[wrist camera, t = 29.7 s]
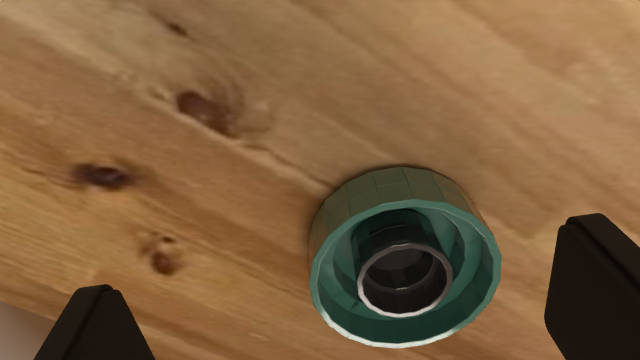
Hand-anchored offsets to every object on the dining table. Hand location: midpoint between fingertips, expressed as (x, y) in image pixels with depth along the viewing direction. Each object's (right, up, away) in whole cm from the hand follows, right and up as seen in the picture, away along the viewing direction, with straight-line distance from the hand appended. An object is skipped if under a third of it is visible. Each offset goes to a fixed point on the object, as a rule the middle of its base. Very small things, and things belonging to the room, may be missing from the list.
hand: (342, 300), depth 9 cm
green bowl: (+6, -2, +28) cm, 28 cm away
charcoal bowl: (+6, -3, +27) cm, 28 cm away
